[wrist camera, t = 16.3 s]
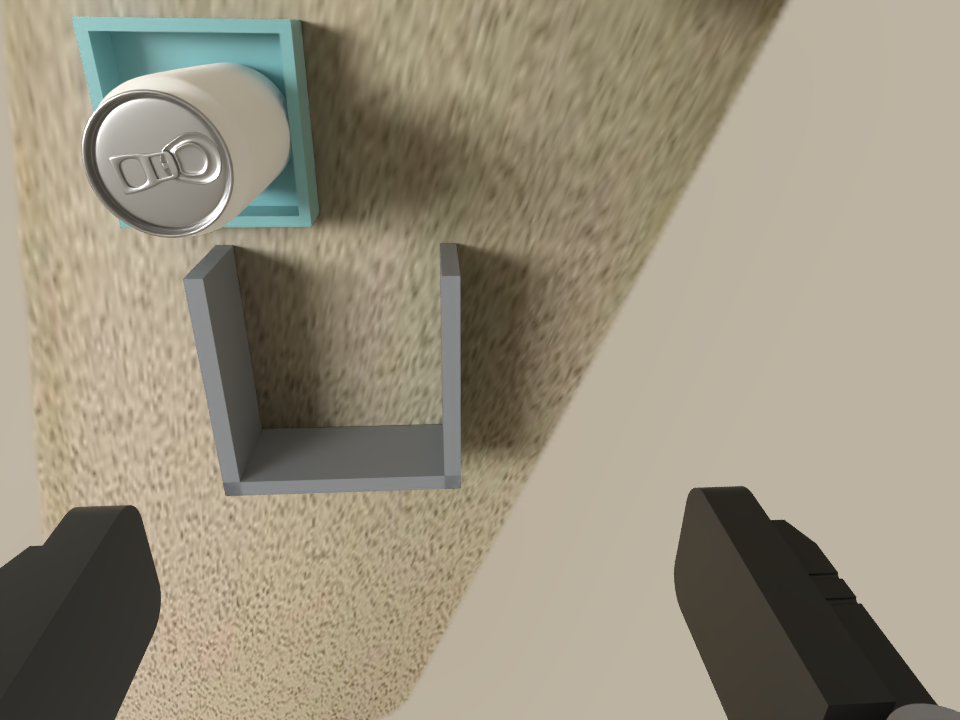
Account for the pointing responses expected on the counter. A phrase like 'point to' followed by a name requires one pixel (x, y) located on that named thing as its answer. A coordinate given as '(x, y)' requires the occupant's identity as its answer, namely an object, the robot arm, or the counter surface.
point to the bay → (326, 450)
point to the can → (186, 147)
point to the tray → (199, 41)
